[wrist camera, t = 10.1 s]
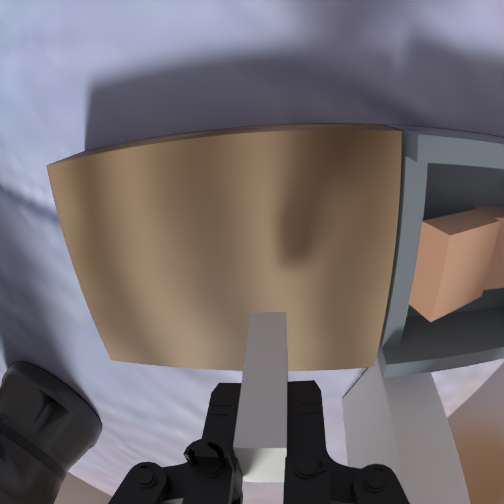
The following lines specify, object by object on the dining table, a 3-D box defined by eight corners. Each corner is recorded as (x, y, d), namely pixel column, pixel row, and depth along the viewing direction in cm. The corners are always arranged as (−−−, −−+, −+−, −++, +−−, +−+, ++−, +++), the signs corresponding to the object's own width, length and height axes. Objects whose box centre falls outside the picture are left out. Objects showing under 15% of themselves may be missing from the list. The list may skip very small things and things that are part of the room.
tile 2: (408, 303, 17) (430, 322, 15) (421, 220, 15) (449, 235, 13) (460, 281, 18) (481, 296, 16) (475, 209, 16) (499, 220, 14)
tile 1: (522, 285, 16) (509, 271, 18) (540, 218, 14) (524, 208, 16) (471, 291, 17) (459, 275, 19) (488, 217, 15) (472, 205, 17)
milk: (340, 398, 26) (344, 637, 6) (377, 354, 23) (410, 637, 4) (393, 408, 26) (416, 619, 7) (431, 368, 24) (484, 604, 4)
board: (131, 326, 24) (111, 359, 21) (83, 151, 18) (46, 165, 15) (364, 327, 22) (374, 366, 18) (378, 124, 16) (401, 131, 12)
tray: (369, 327, 22) (382, 377, 18) (384, 124, 16) (418, 134, 11) (506, 312, 20) (533, 350, 16) (543, 145, 14) (588, 162, 10)
